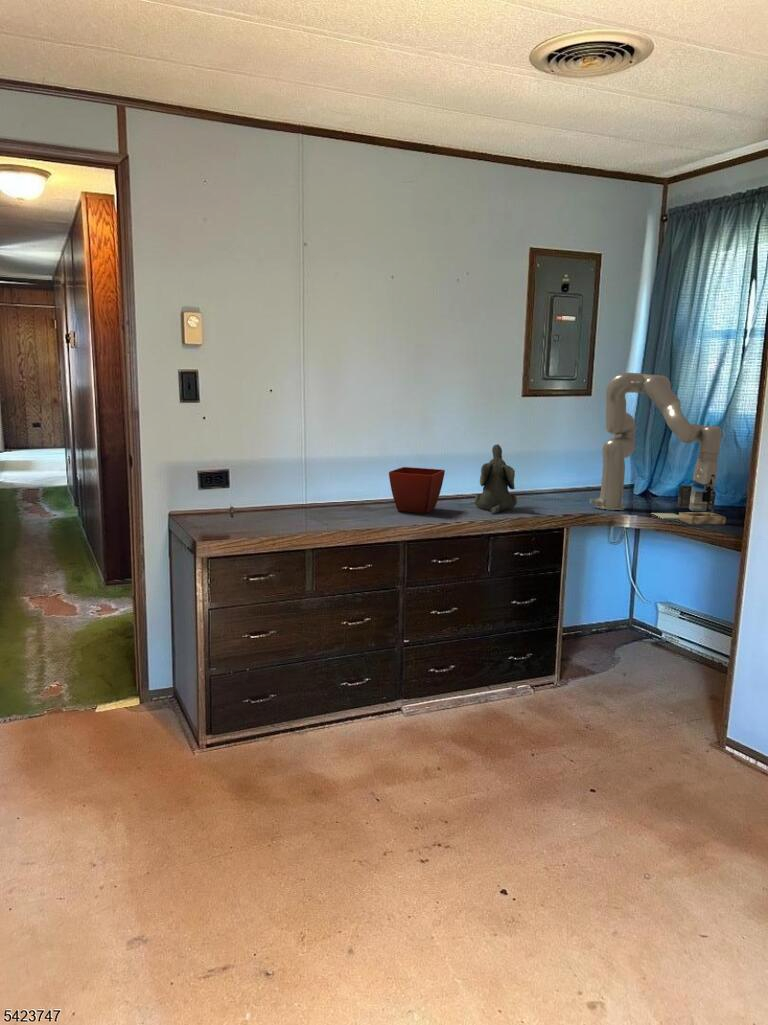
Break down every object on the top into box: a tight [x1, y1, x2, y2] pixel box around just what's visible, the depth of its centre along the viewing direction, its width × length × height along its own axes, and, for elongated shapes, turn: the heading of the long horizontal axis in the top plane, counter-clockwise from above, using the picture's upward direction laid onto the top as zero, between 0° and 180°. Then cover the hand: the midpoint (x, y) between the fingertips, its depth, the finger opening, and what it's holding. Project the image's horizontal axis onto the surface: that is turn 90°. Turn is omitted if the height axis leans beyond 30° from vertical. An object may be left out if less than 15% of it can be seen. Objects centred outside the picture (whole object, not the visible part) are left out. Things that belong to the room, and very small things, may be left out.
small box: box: [676, 484, 692, 510], centre depth 346 cm, size 11×6×10 cm, turn 84°
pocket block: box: [677, 511, 727, 525], centre depth 315 cm, size 15×10×3 cm, turn 99°
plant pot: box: [388, 466, 446, 514], centre depth 320 cm, size 19×19×17 cm
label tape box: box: [689, 479, 717, 513], centre depth 314 cm, size 9×4×12 cm, turn 92°
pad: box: [650, 512, 679, 520], centre depth 325 cm, size 10×10×1 cm
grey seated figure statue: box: [474, 443, 518, 514], centre depth 329 cm, size 19×21×27 cm
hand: (702, 500), depth 314 cm, fingers closed on label tape box, 4 cm apart
